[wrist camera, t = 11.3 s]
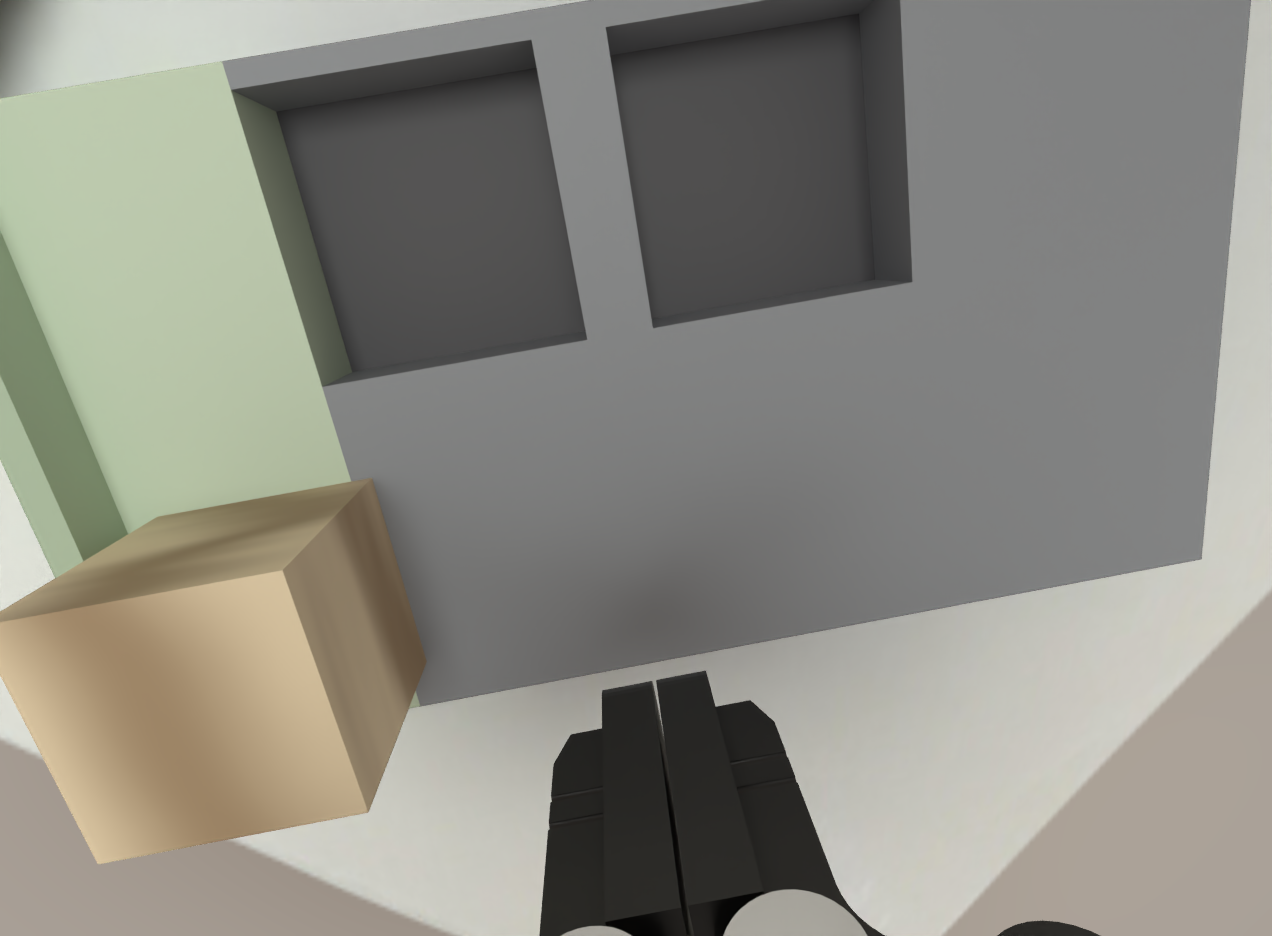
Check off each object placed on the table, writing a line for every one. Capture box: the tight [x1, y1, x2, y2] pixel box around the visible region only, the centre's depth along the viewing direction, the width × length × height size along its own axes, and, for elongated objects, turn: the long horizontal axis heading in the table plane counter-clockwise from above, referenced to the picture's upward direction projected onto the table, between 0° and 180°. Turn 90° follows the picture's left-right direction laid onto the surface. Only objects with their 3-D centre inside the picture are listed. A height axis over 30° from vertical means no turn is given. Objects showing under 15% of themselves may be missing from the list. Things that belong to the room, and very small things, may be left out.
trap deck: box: [0, 0, 1251, 708], centre depth 16 cm, size 27×15×4 cm, turn 100°
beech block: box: [0, 478, 427, 864], centre depth 14 cm, size 5×5×5 cm
